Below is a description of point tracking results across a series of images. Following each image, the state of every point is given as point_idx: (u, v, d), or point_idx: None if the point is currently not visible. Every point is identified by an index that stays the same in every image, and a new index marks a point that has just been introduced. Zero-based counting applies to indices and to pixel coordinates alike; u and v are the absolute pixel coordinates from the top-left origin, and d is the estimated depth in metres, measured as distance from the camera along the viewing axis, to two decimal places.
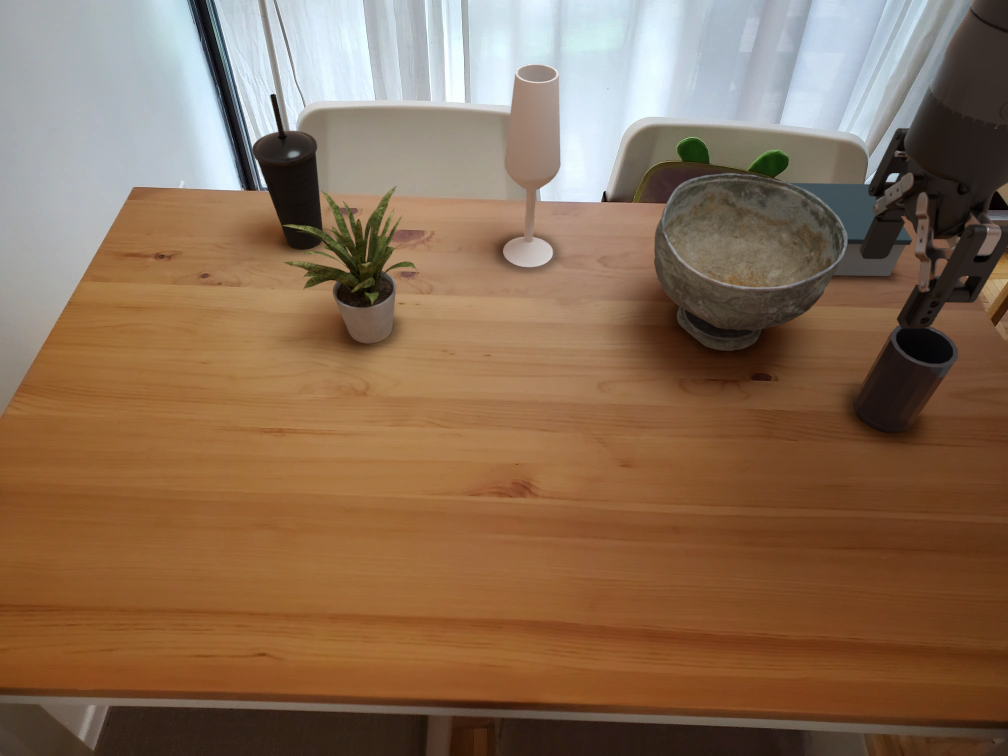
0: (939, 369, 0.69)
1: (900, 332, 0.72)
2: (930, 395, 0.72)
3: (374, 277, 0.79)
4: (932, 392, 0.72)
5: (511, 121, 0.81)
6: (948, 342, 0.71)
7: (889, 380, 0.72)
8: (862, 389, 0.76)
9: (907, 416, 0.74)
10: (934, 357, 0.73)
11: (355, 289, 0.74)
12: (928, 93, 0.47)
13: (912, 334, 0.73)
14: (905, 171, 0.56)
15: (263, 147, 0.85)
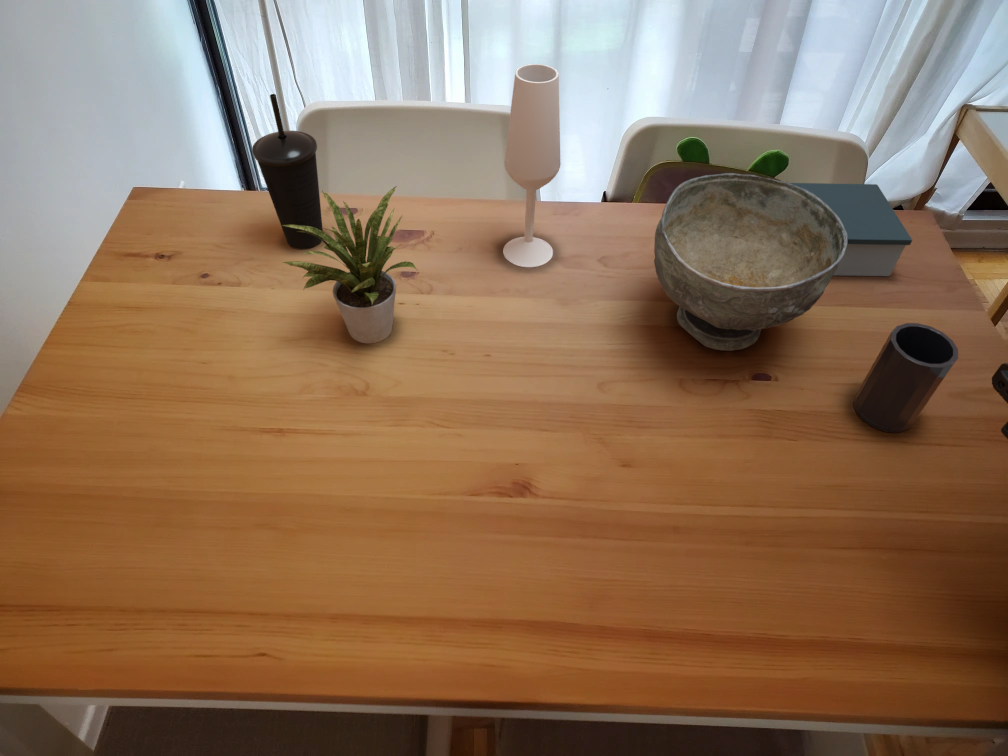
0: (939, 369, 0.69)
1: (900, 332, 0.72)
2: (930, 395, 0.72)
3: (374, 277, 0.79)
4: (932, 392, 0.72)
5: (511, 121, 0.81)
6: (948, 342, 0.71)
7: (889, 380, 0.72)
8: (862, 389, 0.76)
9: (907, 416, 0.74)
10: (934, 357, 0.73)
11: (355, 289, 0.74)
12: None
13: (912, 334, 0.73)
14: None
15: (263, 147, 0.85)
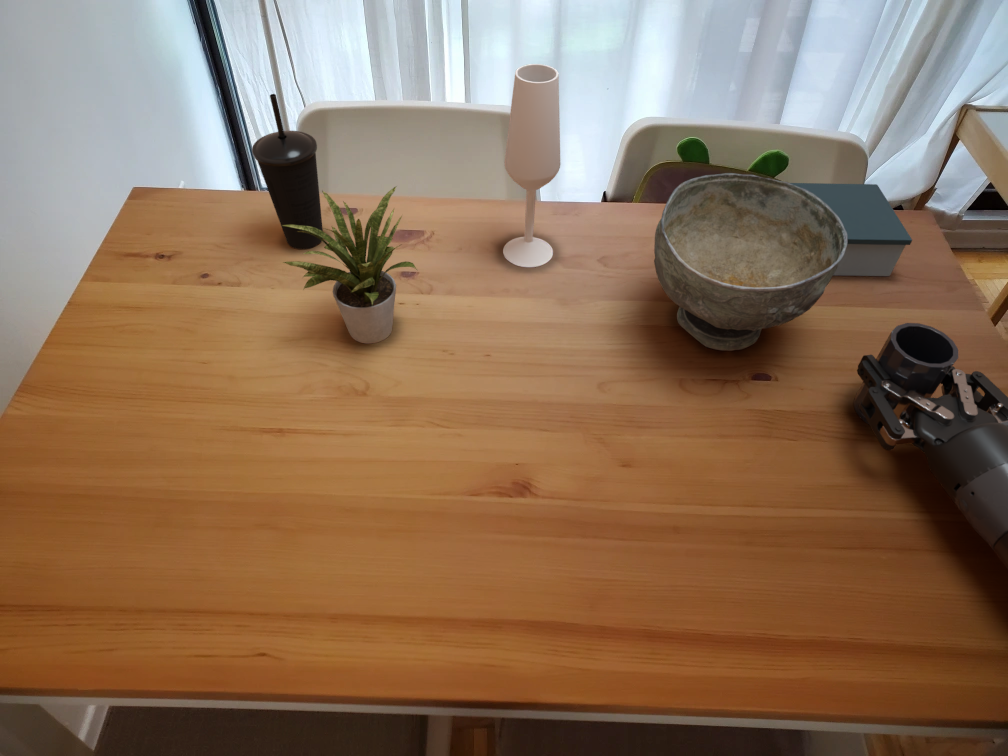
0: (939, 369, 0.69)
1: (900, 332, 0.72)
2: (930, 395, 0.72)
3: (374, 277, 0.79)
4: (932, 392, 0.72)
5: (511, 121, 0.81)
6: (948, 342, 0.71)
7: None
8: (862, 389, 0.76)
9: None
10: (934, 357, 0.73)
11: (355, 289, 0.74)
12: None
13: (912, 334, 0.73)
14: None
15: (263, 147, 0.85)
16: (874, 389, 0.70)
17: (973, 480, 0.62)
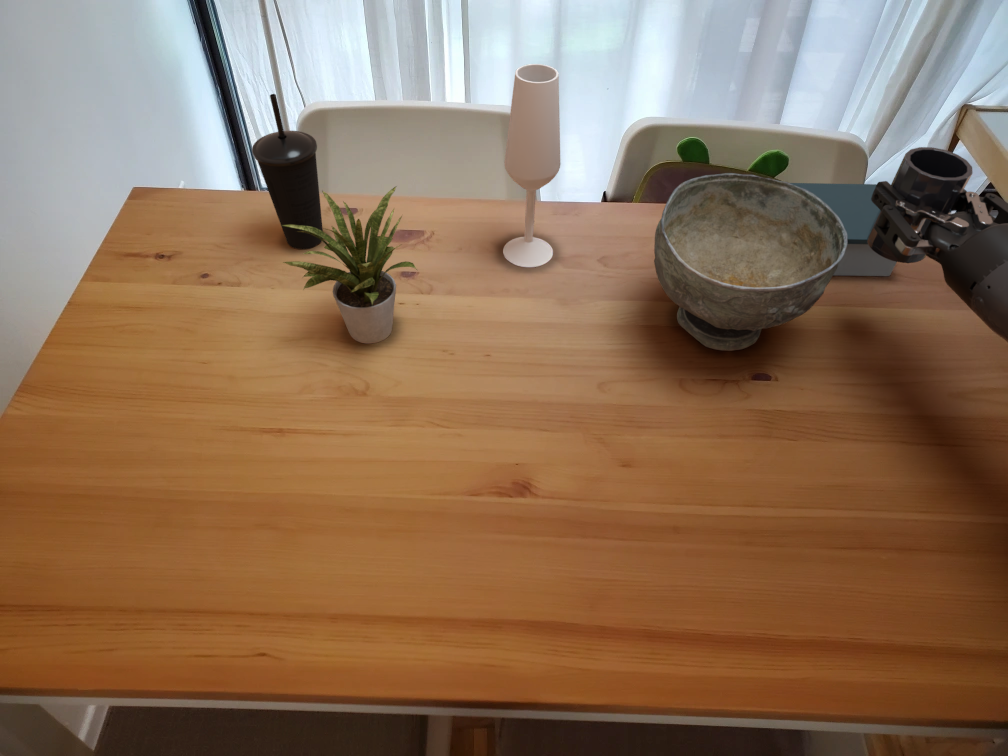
0: (953, 182, 0.69)
1: (914, 156, 0.73)
2: None
3: (374, 277, 0.79)
4: (946, 213, 0.72)
5: (511, 121, 0.81)
6: (962, 162, 0.72)
7: None
8: (876, 221, 0.77)
9: None
10: None
11: (355, 289, 0.74)
12: None
13: (926, 159, 0.74)
14: None
15: (263, 147, 0.85)
16: (889, 206, 0.71)
17: (989, 274, 0.63)
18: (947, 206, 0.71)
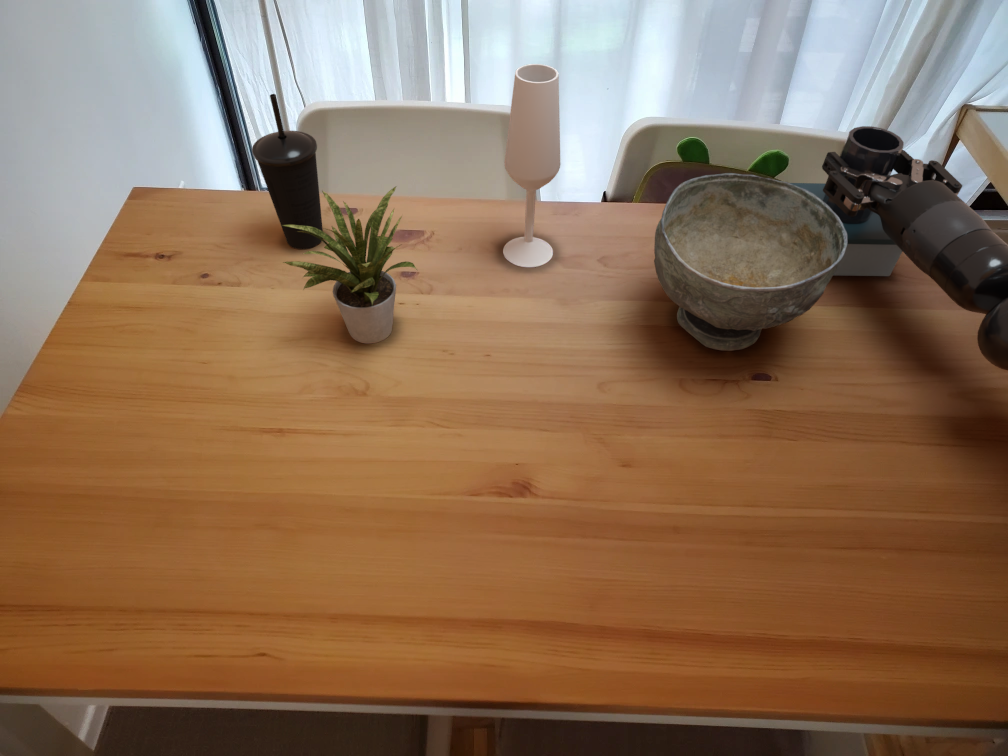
0: (887, 154, 0.84)
1: (857, 133, 0.88)
2: None
3: (374, 277, 0.79)
4: None
5: (511, 121, 0.81)
6: (896, 138, 0.86)
7: None
8: None
9: None
10: None
11: (355, 289, 0.74)
12: None
13: (867, 136, 0.88)
14: None
15: (263, 147, 0.85)
16: (834, 171, 0.84)
17: (914, 220, 0.77)
18: None
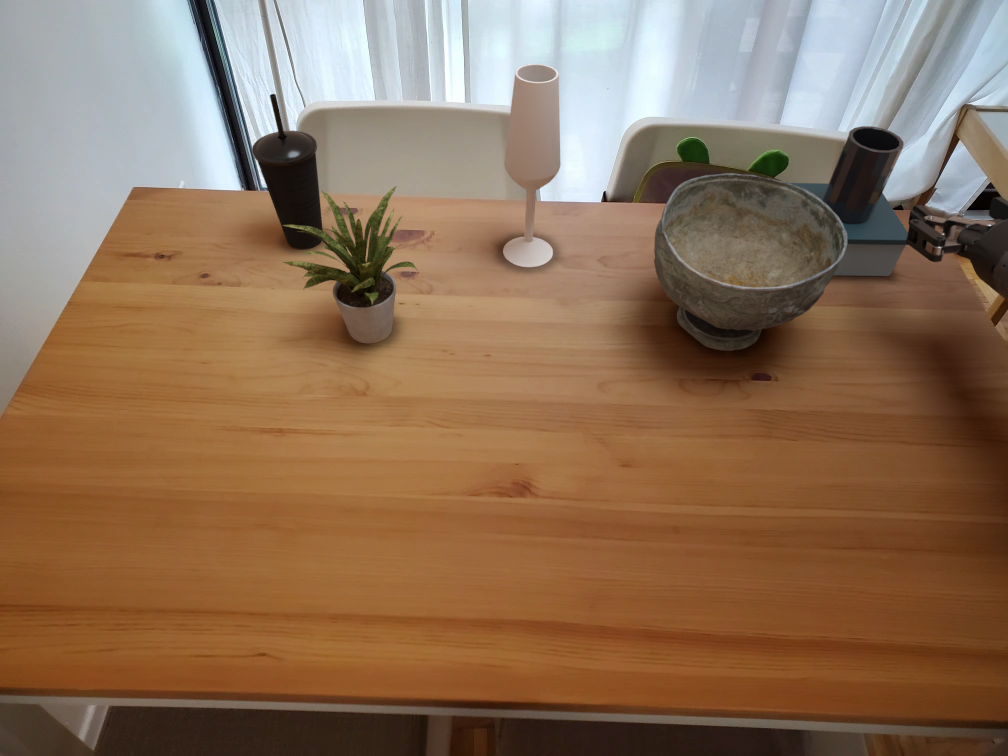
0: (887, 154, 0.84)
1: (857, 133, 0.88)
2: (881, 184, 0.87)
3: (374, 277, 0.79)
4: (883, 181, 0.87)
5: (511, 121, 0.81)
6: (896, 138, 0.86)
7: (848, 171, 0.87)
8: (827, 189, 0.92)
9: (863, 206, 0.89)
10: None
11: (355, 289, 0.74)
12: None
13: (867, 136, 0.88)
14: None
15: (263, 147, 0.85)
16: (915, 220, 0.78)
17: (1004, 255, 0.68)
18: (883, 175, 0.86)
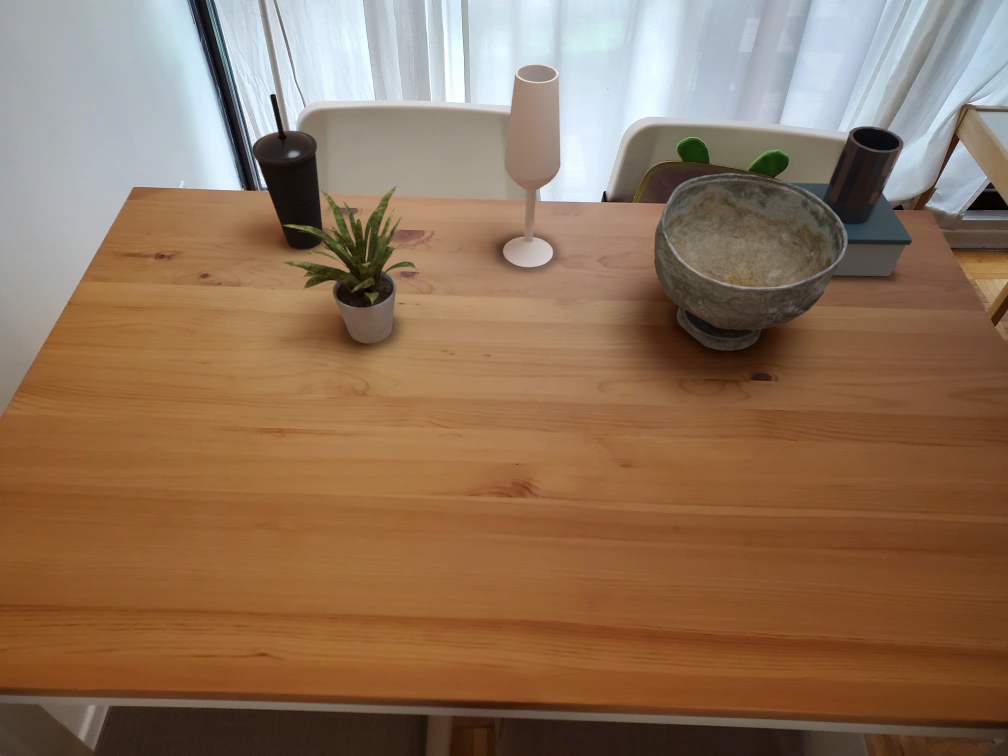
0: (887, 154, 0.84)
1: (857, 133, 0.88)
2: (881, 184, 0.87)
3: (374, 277, 0.79)
4: (883, 181, 0.87)
5: (511, 121, 0.81)
6: (896, 138, 0.86)
7: (848, 171, 0.87)
8: (827, 189, 0.92)
9: (863, 206, 0.89)
10: None
11: (355, 289, 0.74)
12: None
13: (867, 136, 0.88)
14: None
15: (263, 147, 0.85)
16: None
17: None
18: (883, 175, 0.86)
